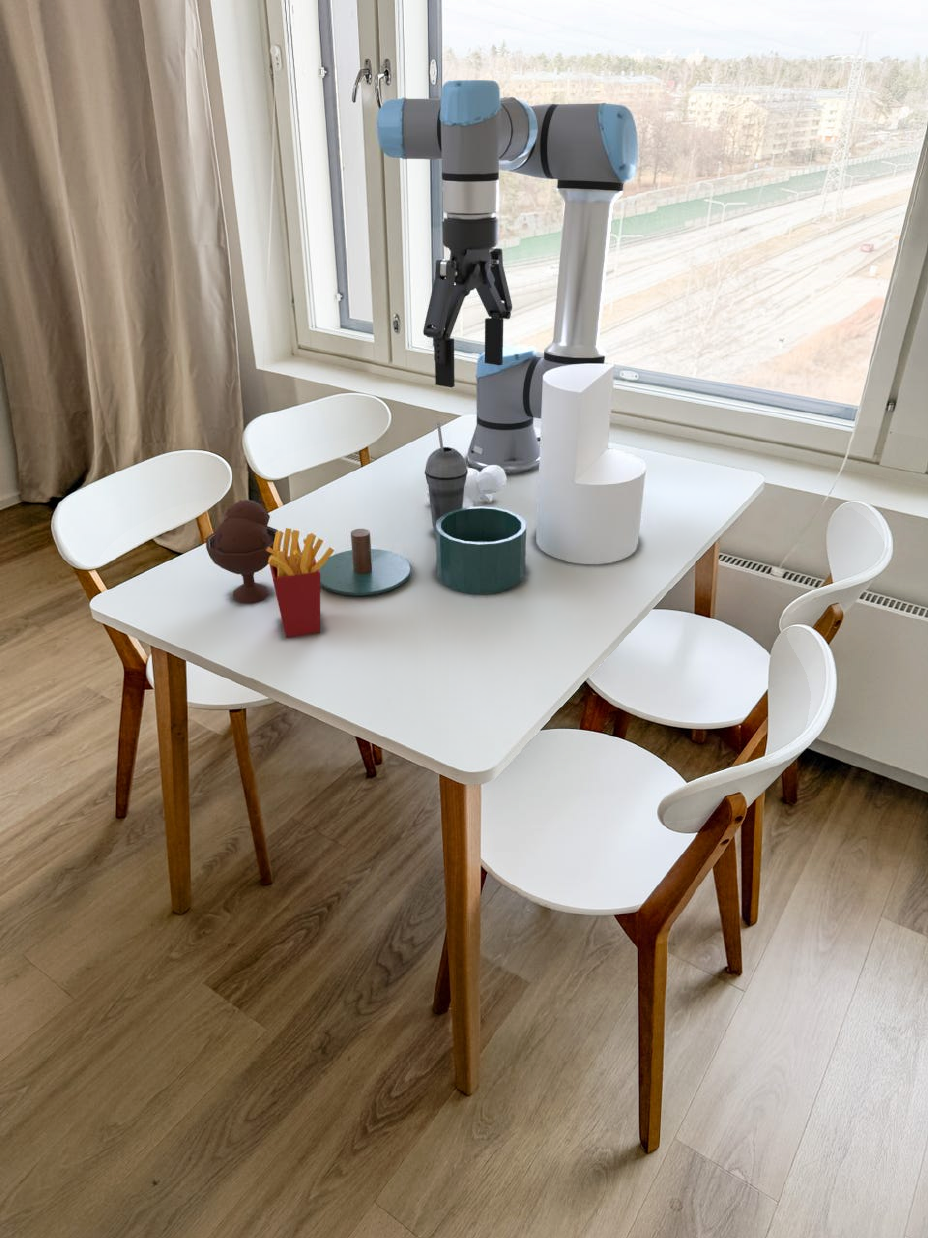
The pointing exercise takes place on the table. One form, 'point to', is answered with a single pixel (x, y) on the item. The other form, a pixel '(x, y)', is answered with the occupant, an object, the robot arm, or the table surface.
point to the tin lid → (363, 568)
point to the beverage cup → (445, 480)
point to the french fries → (297, 582)
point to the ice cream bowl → (243, 547)
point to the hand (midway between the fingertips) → (470, 374)
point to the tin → (480, 549)
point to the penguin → (482, 484)
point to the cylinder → (585, 471)
